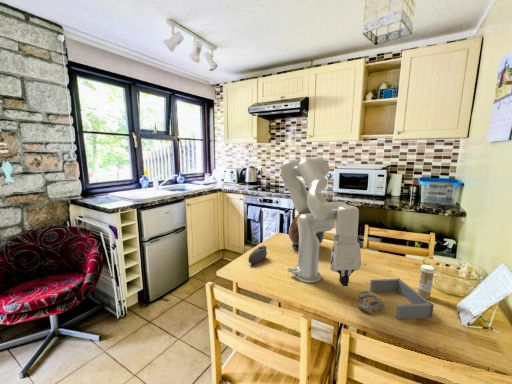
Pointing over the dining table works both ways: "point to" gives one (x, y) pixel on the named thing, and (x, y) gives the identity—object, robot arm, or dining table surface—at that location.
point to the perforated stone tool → (257, 255)
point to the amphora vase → (295, 231)
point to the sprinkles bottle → (426, 281)
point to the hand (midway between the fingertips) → (343, 284)
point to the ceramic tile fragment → (369, 302)
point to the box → (406, 311)
